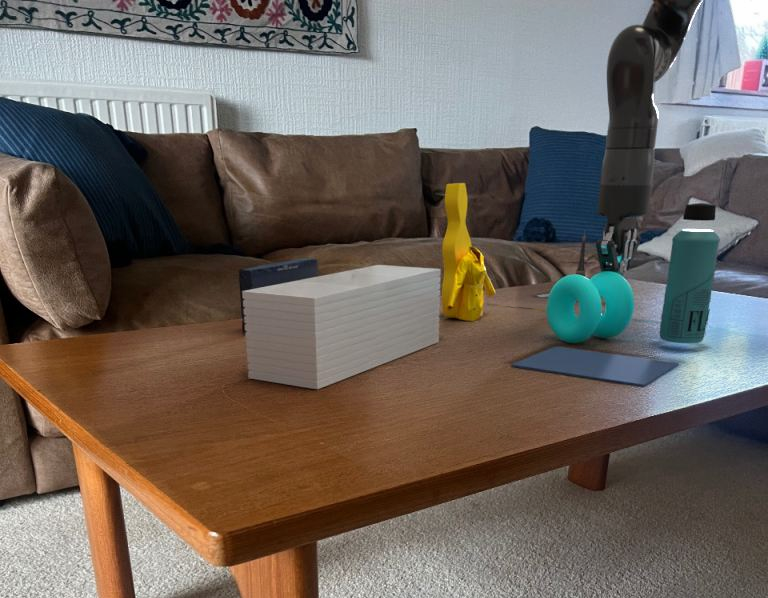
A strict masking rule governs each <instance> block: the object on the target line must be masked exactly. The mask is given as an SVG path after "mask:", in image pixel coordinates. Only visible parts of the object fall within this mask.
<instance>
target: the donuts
mask: <svg viewBox="0 0 768 598" xmlns="http://www.w3.org/2000/svg"><path fill="white" fill-rule="evenodd" d="M549 293H550V294H549ZM549 293H548V294H549V297H547V302H546V317H547V321H548V324H549V326H550V329H551V331H552V332H553V334H554V336H556V337H557V338H558V339H560V340H561V341H563V342H565V343H568V344H577V343H581V342H585V341H586V340H587V339H589V338H590V337H591V336H593V335H594V336H596V337H597V338H602V339H609V338H614V337H617V336H618V335H620V334H621V333H622V332H624V331H625V330H626V329H627V327H628V325H630V323H631V321H632V319H633V314H634V311H635V297H634V293H633V289H632V287H631V284H630V283H629V282H628V280H627V279H626V278H625V277H624V276H623V277H622V276H621V275H620V274H618V273H615V272H611V271H604V272H601V271H600V272H598V273H596V274H593V276H591V277H590V278H588V277H587V276H586V277H584V276H581V275H576V273H575V274H569V275H565V276H563V277H561V278H560V279H559V280H557V281H556V282H555V284H554V285H553V286H552V288H551V290H550V292H549ZM601 298H603V300H604V303H605V308H604V312H603V313H602V311H603V310H602V309H603V306H602V299H601ZM576 302H578V311H579V312H578V313H579V315H578V316H577V314H576V312H575V305H576Z"/></svg>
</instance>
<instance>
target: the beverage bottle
mask: <svg viewBox="0 0 768 598" xmlns="http://www.w3.org/2000/svg"><path fill="white" fill-rule="evenodd" d="M716 206H717V205H716V204H712V203H704V202H695V203H688V204H686V205H685V209H684V213H683V217H682V220H683V221H684V220H685V221H701V222H702V221H715V220H716V209H717V207H716ZM671 241H672V243H671V249H670V250H671V251H670V259H669V266H668V271H667V280H666V285H665V287H664V294H663V295H664V296H663V302H662V310H661V315H660V319H659V320H660V321H659V322H660V325H659V338H660V340H662V341H665V342H670V343H677V344H698V343H702V342H703V341H704V339H705V337H706V336H707V335H706V330H707V329H708V327H707V325H708V324H709V315H710V311H711V308H710V304H711V302H712V301H711V300H712V291H713V286H714V282H715V274H716V270H717V262H718V260H717V259H718V258H717V257H718V253H719V252H718V251H719V246H720V245H719V244H720V242H721V238H720V236H719V235H718V233H717V232H716V231H714V230H713V229H702V228H701V229H700V228H683V229H681V230H680V231H678V232H677V233H676V234H675V235H674V236H672V239H671Z"/></svg>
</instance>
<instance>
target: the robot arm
mask: <svg viewBox="0 0 768 598" xmlns="http://www.w3.org/2000/svg"><path fill="white" fill-rule="evenodd" d="M703 1H704V0H651V5H650V7H649V10H648V11H647V14H646V16H645V18H644V21H643V22H642V24H631V25H629V26H627V27H625V28H624V29H622V30H621V31H619V33H618V34H617V35H616V36H615V38H614V39H613V42H612V44H611V46H610V49H609V52H608V55H607V61H606V62H607V63H606V89H607V91H606V93H607V105H608V114H609V115H608V119H609V120H608V125H607V131H606V132H607V133H606V139H605V140H606V142H605V151H604V155H603V156H604V157H603V160H602V165H601V171H600V182H599V192H598V201H597V211H596V212H597V214H598V215H599V216H601V217H606V222H605V226H604V229H603V233H602V239H598V240H597V241H596V243H595V248H596V253H597V258H598V262H599V263H598V265H599V269H600V272H604V271H611V272H615V273H618V274H620V275H621V276H622V277H624V276H626V274H627V272H628V271H630V270H631V267H632V264H633V262H634V259H635V257H636V254H637V251H638V249H639V246H640V243H641V240H642V239H641V235H638V229H637V218H639V217H646V216H647V215H648V214H649V210H650V202H651V194H652V187H653V180H654V179H653V178H654V172H655V152H656V151H655V149H656V141H657V135H658V134H657V133H658V128H659V127H658V125H659V111H658V108H657V106H656V105H655V103H654V85H655V83H657V82H658V81H660V79H662V78H663V77H664V76H665V75H666V73H667V72H668V71H669V70H670V68H671V67H672V65H673V64H674V62H675V60H676V58H677V57H678V55H679V53H680V50H681V48H682V46H683V44H684V42H685V39H686V37H687V34H688V32H689V30H690V27H691V25H692V23H693V20H694V17H695V14H696V12H697V10H698V9H699V7H700V5H701V3H703Z"/></svg>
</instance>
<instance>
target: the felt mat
mask: <svg viewBox="0 0 768 598" xmlns="http://www.w3.org/2000/svg"><path fill="white" fill-rule="evenodd" d="M679 364H680V363H679V362H675V361H674V362H673V361H666V360H658V359H651V358H643V357H636V356H629V355H623V354H622V355H621V354H614V353H606V352H599V351H592V350H584V349H578V348H577V349H576V348H570V347H562V346H553V347H551V348H548V349H545V350H543V351H541V352H538V353H535V354H533V355H531V356H529V357H526V358H524V359H521V360H519V361H516V362H513V363H512V364H510V366H511V367H512V368H518V369H524V370H532V371H536V372H537V371H538V372H543V373H550V374H551V373H552V374H557V375H563V376H570V377H577V378H582V379H588V380H589V379H590V380H596V381H603V382H609V383H615V384H621V385H629V386H635V387H640V388H641V387H642V388H644V387H646V386H648V385H649V384H650V383H652V382H654V381H656V380H657V379H659V378H660V377H663V376H664V375H665V374H666V373H668V372H670V371H671V370H674V368H677V366H679Z"/></svg>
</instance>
